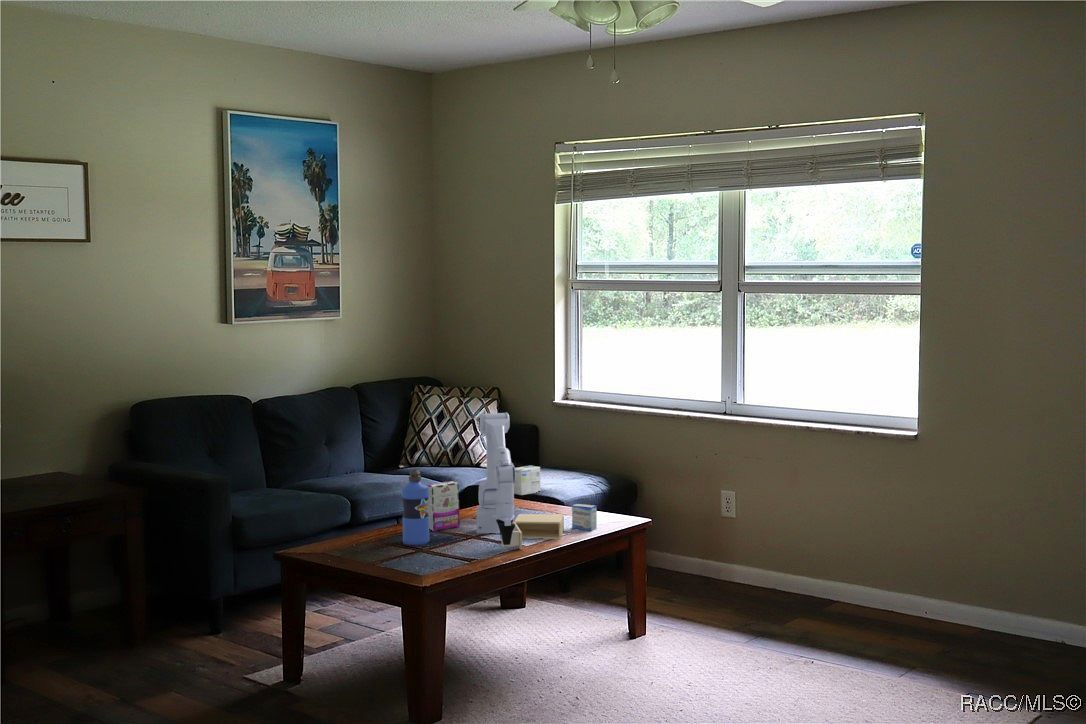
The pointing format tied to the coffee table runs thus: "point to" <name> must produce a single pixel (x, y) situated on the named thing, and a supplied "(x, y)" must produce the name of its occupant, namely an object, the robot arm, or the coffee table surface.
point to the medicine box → (584, 517)
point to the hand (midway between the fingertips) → (505, 542)
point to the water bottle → (415, 510)
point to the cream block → (515, 538)
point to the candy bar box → (443, 506)
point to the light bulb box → (527, 480)
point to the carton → (541, 525)
